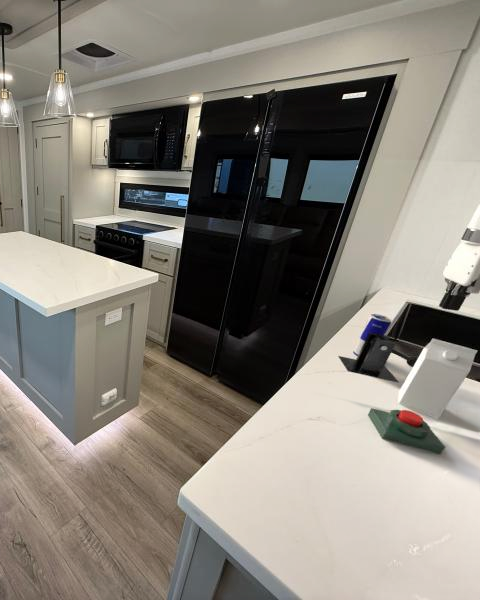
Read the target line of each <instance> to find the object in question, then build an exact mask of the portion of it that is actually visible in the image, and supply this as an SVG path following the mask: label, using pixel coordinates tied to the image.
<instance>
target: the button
mask: <svg viewBox="0 0 480 600" xmlns="http://www.w3.org/2000/svg"><path fill="white" fill-rule="evenodd" d="M398 418H399V419H400V420H401V421H402V422H404V423H406V424H408V425H410V426H413V427H417V428H418V427H420V425H421V424H422V422H423V421H424V418H423V417H422V416H421V415H419V414H418V413H416V412H414V411H411V410H407V409H402V410H401V412H400V414H399V416H398Z"/></svg>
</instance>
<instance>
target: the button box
mask: <svg viewBox="0 0 480 600" xmlns="http://www.w3.org/2000/svg"><path fill="white" fill-rule="evenodd" d="M401 411H402V410H401V409H391V410H389V412H388V411H385V410H382V409H381V410H380V409H377V408H374V407H373V408H372V407H371V408H370V410H369V411H368V413H367V416H368V418H369V419H370V421H371V423H372V424H373V426H374V428H375V429H376V431H377V433H378V434H379V436H380V437H381V439H383V440H386V441H390V442H393V443H397V444H401V445H403V446H404V445H405V446H408V447H411V448H415V449H418V450H423V451H426V452H429V453H433V454H436V455H441V454H442V453H443V452H444V450H445V449H446V446H445V445H444V444H443V442H442V441H441V440H440V439H439V437H437V434H435V433H434V431H433V430H432V429H431V427H430V425H429V424H428V423H427V422H426V421H425V420H423V422H422V424H421V425H420V427H418V428H417V427H413V426H410V425H408V424H406V423H404V422H402V421H401V420H400V419H399V418H398V416H399V414H400V412H401Z"/></svg>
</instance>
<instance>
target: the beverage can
mask: <svg viewBox="0 0 480 600" xmlns="http://www.w3.org/2000/svg"><path fill="white" fill-rule="evenodd" d="M392 322H393V319H392V318H391V317H388V316H386V315H384V314H377V313H371V314H370V316H369V318H368V319H367V321H366V324H365V326H364V328H363V330H362V332H361V334H360V336H359V338H358V341H357V342H356V345H355V347H354V349H353V351H352V353H353V354H354V355H355V356H356V357H358V355H359V353H360V351H361V348H362V346H363V344H364V342H365V340H366V338H367V336H368V334H369V333H375V334H380V335H386V334H387V333H388V331H389V329H390V328H391V325H392ZM386 336H387V335H386Z"/></svg>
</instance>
